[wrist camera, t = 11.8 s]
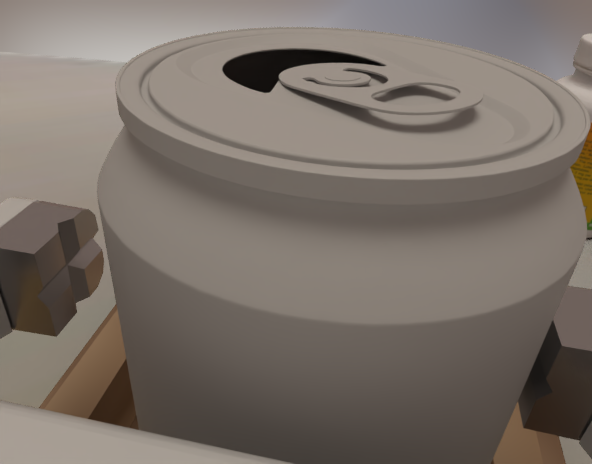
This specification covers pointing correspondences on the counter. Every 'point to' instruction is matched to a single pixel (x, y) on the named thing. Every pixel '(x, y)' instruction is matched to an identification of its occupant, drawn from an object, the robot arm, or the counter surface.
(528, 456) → the tray
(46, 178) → the counter surface
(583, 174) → the supplement bottle
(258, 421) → the beverage can
